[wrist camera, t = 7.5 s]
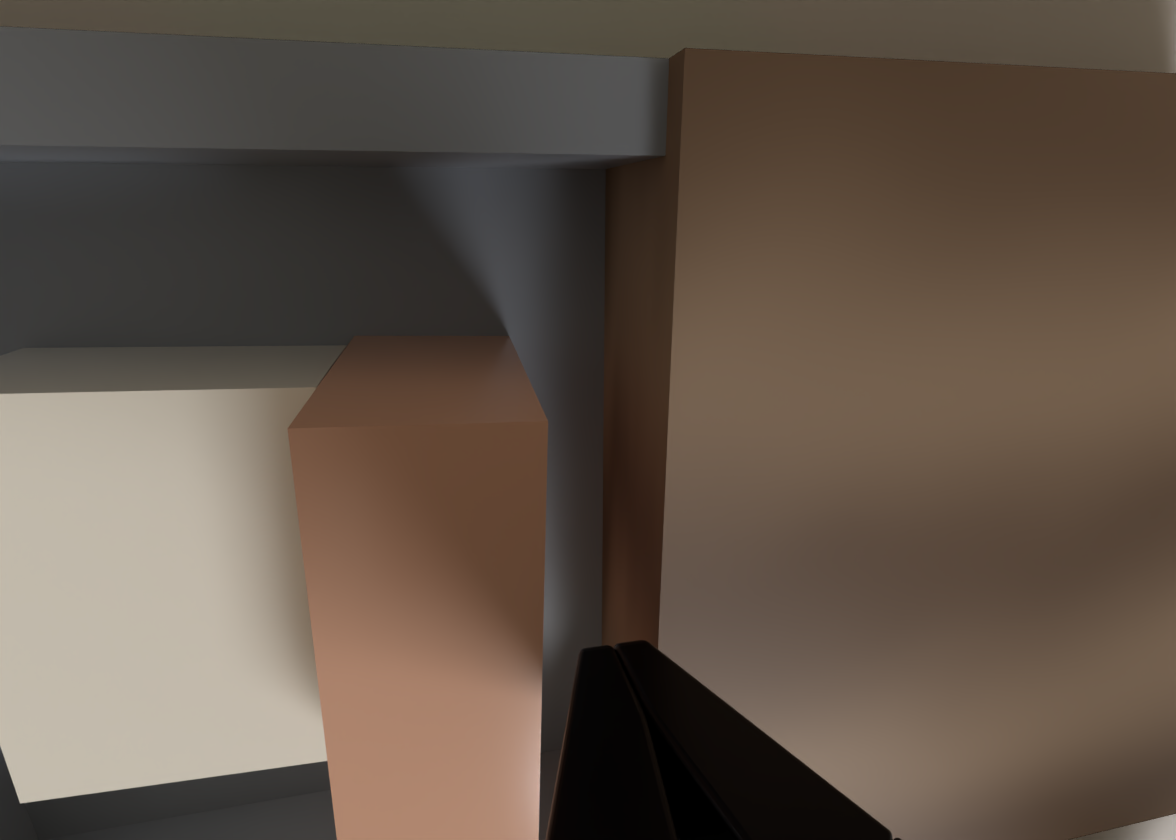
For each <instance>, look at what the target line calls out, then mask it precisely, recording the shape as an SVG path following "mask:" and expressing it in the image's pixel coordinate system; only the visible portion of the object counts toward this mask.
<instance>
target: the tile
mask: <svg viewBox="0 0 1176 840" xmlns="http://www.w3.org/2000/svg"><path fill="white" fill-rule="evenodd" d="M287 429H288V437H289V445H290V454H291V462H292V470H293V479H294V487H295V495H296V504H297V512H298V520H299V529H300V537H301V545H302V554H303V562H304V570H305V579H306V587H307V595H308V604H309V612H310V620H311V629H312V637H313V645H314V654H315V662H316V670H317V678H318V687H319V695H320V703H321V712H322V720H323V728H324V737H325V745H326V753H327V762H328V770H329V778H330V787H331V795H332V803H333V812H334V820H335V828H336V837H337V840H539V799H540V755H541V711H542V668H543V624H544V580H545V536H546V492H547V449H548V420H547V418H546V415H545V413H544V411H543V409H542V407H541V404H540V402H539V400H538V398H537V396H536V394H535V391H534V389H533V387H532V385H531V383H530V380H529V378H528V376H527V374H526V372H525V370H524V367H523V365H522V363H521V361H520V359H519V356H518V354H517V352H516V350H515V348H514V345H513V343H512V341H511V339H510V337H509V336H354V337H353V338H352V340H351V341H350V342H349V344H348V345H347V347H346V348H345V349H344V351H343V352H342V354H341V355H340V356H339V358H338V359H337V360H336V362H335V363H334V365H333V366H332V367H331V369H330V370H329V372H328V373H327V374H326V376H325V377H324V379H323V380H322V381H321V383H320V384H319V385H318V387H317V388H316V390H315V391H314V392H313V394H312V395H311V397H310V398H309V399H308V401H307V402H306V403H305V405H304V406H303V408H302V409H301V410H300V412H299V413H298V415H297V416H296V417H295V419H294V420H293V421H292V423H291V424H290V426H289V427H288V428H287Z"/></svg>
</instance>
